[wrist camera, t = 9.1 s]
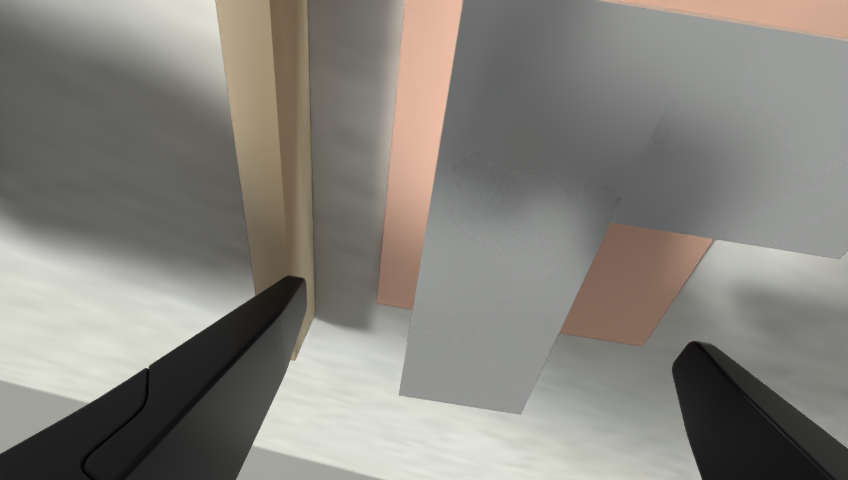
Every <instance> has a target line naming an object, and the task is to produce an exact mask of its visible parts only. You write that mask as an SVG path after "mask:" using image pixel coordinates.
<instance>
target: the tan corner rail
mask: <svg viewBox="0 0 848 480" xmlns="http://www.w3.org/2000/svg"><path fill="white" fill-rule="evenodd" d="M215 3H216V10H217V17H218V24H219V32H220V39H221V46H222V54H223V61H224V68H225V76H226V83H227V90H228V97H229V105H230V112H231V119H232V127H233V134H234V141H235V148H236V156H237V163H238V170H239V178H240V185H241V192H242V199H243V207H244V214H245V221H246V229H247V236H248V243H249V251H250V258H251V265H252V272H253V280H254V287H255V294H256V295H258V294H259V293H261V292H262V291H264V290H265V289H267V288H268V287H270V286H271V285H273V284H274V283H276V282H278V281H279V280H281V279H282V278H284V277H285V276H288V275H291V276H297V277H303V278H304V279H305V280H306V286H307V309H306V314H305V317H304V320H303V323H302V326H301V329H300V332H299V335H298V338H297V341H296V344H295V347H294V350H293V353H292V356H291V359H290V360H293V361H295V360H296V357H297V355H298V353H299V350H300V348H301V346H302V344H303V341H304V339H305V337H306V334H307V332H308V330H309V327H310V325H311V323H312V321H313V318H314V316H315V288H314V247H313V207H312V167H311V127H310V87H309V46H308V6H307V0H215Z"/></svg>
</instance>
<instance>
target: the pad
mask: <svg viewBox="0 0 848 480" xmlns="http://www.w3.org/2000/svg"><path fill="white" fill-rule="evenodd" d="M623 1H629V2H635V3H642V4H648V5H654V6H660V7H666V8H672V9H678V10H685V11H691V12H697V13H703V14H709V15H715V16H721V17H728V18H734V19H740V20H746V21H752V22H758V23H764V24H771V25H777V26H783V27H789V28H794V29H800V30H805V31H811V32H816V33H822V34H827V35H833V36H838V37H844V38H847V37H848V0H623ZM461 4H462V0H405V8H404V19H403V29H402V40H401V50H400V61H399V72H398V82H397V93H396V103H395V114H394V125H393V135H392V146H391V156H390V167H389V178H388V188H387V199H386V209H385V220H384V231H383V241H382V252H381V262H380V273H379V284H378V294H377V304H381V305H388V306H394V307H400V308H406V309H412V308H413V302H414V295H415V289H416V283H417V276H418V270H419V264H420V258H421V252H422V245H423V239H424V233H425V227H426V221H427V215H428V208H429V202H430V196H431V190H432V184H433V177H434V171H435V165H436V159H437V153H438V147H439V140H440V134H441V128H442V122H443V116H444V109H445V103H446V97H447V91H448V85H449V79H450V72H451V66H452V60H453V54H454V48H455V41H456V35H457V29H458V23H459V17H460V11H461ZM712 241H713V239H711V238H705V237H699V236H692V235H686V234H680V233H674V232H667V231H661V230H655V229H649V228H642V227H636V226H630V225H624V224H617V223H610V225H609V227H608V230H607V232H606V234H605V236H604V238H603V240H602V242H601V244H600V247H599V249H598V251H597V253H596V255H595V257H594V259H593V261H592V264H591V266H590V268H589V270H588V272H587V274H586V276H585V278H584V281H583V283H582V285H581V287H580V289H579V291H578V293H577V295H576V298H575V300H574V302H573V304H572V306H571V308H570V310H569V313H568V315H567V317H566V319H565V321H564V323H563V325H562V327H561V330H560V332H559V333H562V334H569V335H575V336H581V337H587V338H593V339H600V340H606V341H612V342H618V343H625V344H631V345H637V346H643V345H644V343H645V342H646V340H647V339H648V337H649V336H650V334H651V333H652V331H653V330H654V328H655V327H656V325H657V324H658V322H659V321H660V319H661V318H662V316H663V315H664V313H665V312H666V310H667V309H668V307H669V306H670V304H671V303H672V301H673V300H674V298H675V297H676V295H677V294H678V292H679V291H680V289H681V288H682V286H683V285H684V283H685V282H686V280H687V278H688V277H689V275H690V274H691V272H692V271H693V269H694V268H695V266H696V265H697V263H698V262H699V260H700V259H701V257H702V256H703V254H704V253H705V251H706V250H707V248H708V247H709V245H710V244H711V242H712Z"/></svg>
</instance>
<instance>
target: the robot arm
mask: <svg viewBox="0 0 848 480" xmlns="http://www.w3.org/2000/svg"><path fill="white" fill-rule="evenodd" d="M306 309H307V286H306V280H305V279H304V278H303V277H297V276H291V275H288V276H285V277H284V278H282V279H281V280H279V281H278V282H276V283H274V284H273V285H271V286H270V287H268V288H267V289H265V290H264V291H262V292H261V293H259V294H258V295H256V296H255V297H253V298H252V299H250V300H249V301H247V302H246V303H244V304H242V305H241V306H239V307H238V308H236V309H235V310H233V311H232V312H230V313H229V314H227V315H226V316H224V317H223V318H221V319H220V320H218V321H217V322H215V323H214V324H212V325H210V326H209V327H207V328H206V329H204V330H203V331H201V332H200V333H198V334H197V335H195V336H194V337H192V338H191V339H189V340H188V341H186V342H185V343H183V344H181V345H180V346H178V347H177V348H175V349H174V350H172V351H171V352H169V353H168V354H166V355H165V356H163V357H162V358H160V359H159V360H157V361H156V362H154V363H153V364H151V365H150V366H149V369H148V368H145V369H143V370H142V371H140V372H139V373H137V374H135V375H134V376H132V377H131V378H129V379H128V380H126V381H125V382H123V383H122V384H120V385H118V386H117V387H115V388H114V389H112V390H110V391H109V392H107V393H106V394H104V395H102V396H101V397H99V398H98V399H96V400H94V401H93V402H91V403H89V404H87V405H86V406H84V407H82V408H81V409H79V410H77V411H75V412H74V413H72V414H70V415H69V416H67V417H65V418H63V419H62V420H60V421H58V422H57V423H55V424H53V425H51V426H49V427H47V428H46V429H44V430H42V431H40V432H39V433H37V434H35V435H33V436H31V437H30V438H28V439H26V440H24V441H23V442H21V443H19V444H17V445H15V446H13V447H12V448H10V449H8V450H6V451H5V452H3V453H1V454H0V480H236V478H237V476H238V474H239V472H240V470H241V468H242V466H243V463H244V461H245V459H246V457H247V455H248V453H249V451H250V448H251V446H252V444H253V442H254V440H255V438H256V436H257V434H258V431H259V429H260V427H261V425H262V423H263V421H264V419H265V416H266V414H267V412H268V410H269V408H270V406H271V404H272V401H273V399H274V397H275V395H276V393H277V391H278V389H279V386H280V384H281V382H282V380H283V378H284V375H285V373H286V370H287V368H288V365H289V362H290V359H291V356H292V353H293V350H294V347H295V344H296V341H297V338H298V335H299V332H300V329H301V326H302V323H303V320H304V317H305V314H306ZM672 374H673V378H674V383H675V387H676V391H677V395H678V400H679V404H680V408H681V412H682V416H683V421H684V425H685V429H686V433H687V436H688V440H689V443H690V446H691V449H692V452H693V455H694V458H695V460H696V463H697V466H698V469H699V472H700V475H701V478H702V480H848V448H846V447H845V446H844V445H842V444H841V443H840V442H838V441H837V440H836V439H835V438H833V437H832V436H831V435H829V434H828V433H827V432H826V431H824V430H823V429H822V428H820V427H819V426H818V425H816V424H815V423H814V422H813V421H811V420H810V419H809V418H807V417H806V416H805V415H803V414H802V413H801V412H800V411H798V410H797V409H796V408H794V407H793V406H792V405H791V404H789V403H788V402H787V401H785V400H784V399H783V398H781V397H780V396H779V395H778V394H776V393H775V392H774V391H772V390H771V389H770V388H769V387H767V386H766V385H765V384H763V383H762V382H761V381H759V380H758V379H757V378H756V377H754V376H753V375H752V374H750V373H749V372H748V371H747V370H745V369H744V368H743V367H741V366H740V365H739V364H737V363H736V362H735V361H734V360H732V359H731V358H730V357H728V356H727V355H726V354H724V353H723V352H722V351H721V350H719V349H718V348H717V347H715V346H714V345H712V344H710V343H705V342H699V341H692V342H690V343H688V344H687V346H686V347H685V348H684V350H683V351H682V352H681V354H680V355H679V356H678V358H677V359H676V360H675V362H674V363H673V367H672Z"/></svg>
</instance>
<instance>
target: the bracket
mask: <svg viewBox="0 0 848 480" xmlns="http://www.w3.org/2000/svg"><path fill="white" fill-rule="evenodd" d="M610 223H617V224H624V225H630V226H636V227H642V228H649V229H655V230H661V231H667V232H674V233H680V234H686V235H692V236H699V237H705V238H711V239H717V240H724V241H730V242H736V243H742V244H749V245H755V246H761V247H767V248H774V249H780V250H786V251H792V252H798V253H805V254H811V255H817V256H823V257H830V258H836V259H840V258H841V257H842V256H843V255H844V254H845V253H846V252H847V251H848V38H844V37H838V36H833V35H827V34H822V33H816V32H811V31H805V30H800V29H794V28H789V27H783V26H777V25H771V24H764V23H758V22H752V21H746V20H740V19H734V18H728V17H721V16H715V15H709V14H703V13H697V12H691V11H685V10H678V9H672V8H666V7H660V6H654V5H648V4H642V3H635V2H629V1H623V0H462V4H461V11H460V17H459V23H458V29H457V35H456V41H455V48H454V54H453V60H452V66H451V72H450V79H449V85H448V91H447V97H446V103H445V109H444V116H443V122H442V128H441V134H440V140H439V147H438V153H437V159H436V165H435V171H434V177H433V184H432V190H431V196H430V202H429V208H428V215H427V221H426V227H425V233H424V239H423V245H422V252H421V258H420V264H419V270H418V276H417V283H416V289H415V295H414V302H413V308H412V315H411V321H410V327H409V334H408V340H407V347H406V353H405V360H404V366H403V372H402V379H401V385H400V392H399V395H400V396H406V397H413V398H419V399H425V400H432V401H438V402H444V403H451V404H457V405H463V406H470V407H476V408H482V409H489V410H495V411H501V412H508V413H514V414H520V415H521V413H522V410H523V408H524V406H525V404H526V402H527V400H528V398H529V396H530V393H531V391H532V389H533V387H534V385H535V383H536V381H537V378H538V376H539V374H540V372H541V370H542V368H543V366H544V364H545V361H546V359H547V357H548V355H549V353H550V351H551V349H552V347H553V344H554V342H555V340H556V338H557V336H558V334H559V332H560V330H561V327H562V325H563V323H564V321H565V319H566V317H567V315H568V313H569V310H570V308H571V306H572V304H573V302H574V300H575V298H576V295H577V293H578V291H579V289H580V287H581V285H582V283H583V281H584V278H585V276H586V274H587V272H588V270H589V268H590V266H591V264H592V261H593V259H594V257H595V255H596V253H597V251H598V249H599V247H600V244H601V242H602V240H603V238H604V236H605V234H606V232H607V230H608V227H609V225H610Z"/></svg>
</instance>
